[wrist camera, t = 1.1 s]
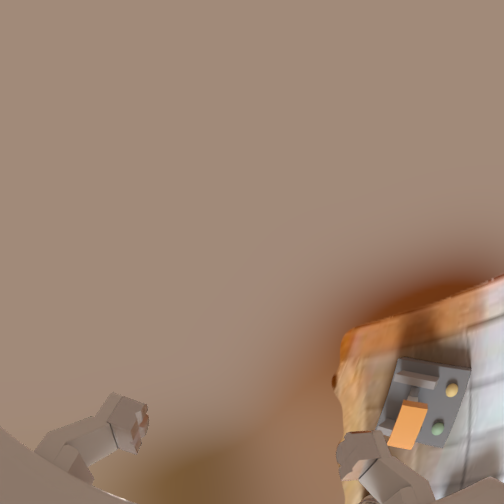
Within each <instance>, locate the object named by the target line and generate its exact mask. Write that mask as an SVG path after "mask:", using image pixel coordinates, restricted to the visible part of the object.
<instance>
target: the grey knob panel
mask: <svg viewBox="0 0 504 504" xmlns="http://www.w3.org/2000/svg"><path fill="white" fill-rule="evenodd" d="M470 373H471V368H467V367H460V366H453V365H447V364H441V363H435V362H429V361H423V360H418V359H412V358H407V357H401V358H398V361H397V365H396V369H395V372H394V376H393V379H392V383H391V386H390V389H389V392H388V395H387V398H386V401H385V404H384V407H383V410H382V413H381V416H380V418H379V421H378V424H377V426H376V429H375V430H381V431H382V433H383V435H386V436H390V435H391V432H392V430H393V427H394V425H395V422H396V419H397V417H398V414H399V411H400V409H401V406H402V403H403V400H407V399H408V396H409V394H410V391H411V388H412V386H417V387H420V391H419V394H418V402H421V403H427V404H428V411H427V413H426V416H425V419H424V421H423V424H422V426H421V429H420V431H419V433H418V436H417V438H416V440H415V442H418V443H422V444H426V445H430V446H435V447H439V448H443V446H444V444H445V442H446V440H447V438H448V435H449V433H450V431H451V428H452V426H453V424H454V421H455V419H456V416H457V413H458V411H459V408H460V405H461V402H462V399H463V396H464V393H465V390H466V387H467V384H468V380H469V377H470Z"/></svg>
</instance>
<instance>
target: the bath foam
mask: <svg viewBox="0 0 504 504" xmlns="http://www.w3.org/2000/svg"><path fill="white" fill-rule="evenodd" d="M359 504H380V503H379V502H378V501H377V500H376V499H375V498H374V497H373V496H372V495H371V494H370V495H368V496H366V497H365V498H364V499H363V500H362V501H361V502H360V503H359Z"/></svg>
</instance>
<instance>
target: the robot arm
mask: <svg viewBox="0 0 504 504" xmlns="http://www.w3.org/2000/svg"><path fill="white" fill-rule="evenodd" d="M147 411H148V408H147V404H144V403H141V402H138V401H135V400H132V399H130V398H127V397H125V396H122V395H119V394H116V393H114V392H113V393H111V394H110V395H109V396H108V398H107V399H106V401H105V403H104V404H103V405H102V407H101V408H100V410H99V411H98V413H97V415H96V416H95V417H93V416H90V417H88V418H85V419H83V420H80V421H78V422H75V423H73V424H70V425H67V426H64V427H61V428H58V429H56V430H53V431H50V432H48V433H47V434H46V436H45V437H44V439H43V440H42V441H41V443H40V444H39V445H38V447H37V448H36V449H35V451H34V452H33V451H32V450H31V449H29V448H28V447H26V446H25V445H24V444H22V443H21V442H20V441H18V440H17V439H16V438H14V437H13V436H12V435H10V434H9V433H8V432H7V431H5V430H4V429H3V428H2V427H1V426H0V504H136V503H134V502H131V501H128V500H125V499H123V498H120V497H118V496H115V495H112V494H110V493H108V492H106V491H103V490H101V489H99V488H97V487H95V486H92V483H93V480H94V477H93V475H92V474H91V472H90V471H89V469H88V466H90V465H92V464H93V463H95V462H97V461H99V460H101V459H102V458H104V457H105V456H107V455H109V454H111V453H112V452H114V451H116V450H117V449H118V448H119V449H121V450H124V451H127V452H130V453H133V454H137V453H138V451H139V449H140V446H141V444H142V442H141V438H142V437H144V436H145V435H146V433H147V430H148V426H149V417H148V415H147V414H146V413H147ZM344 438H345V440H344V441H343V442H341V443H340V444H339V446H338V447H337V451H336V459H337V462H338V463H339V464H340V465H341V466H340V468H339V474H340V479H341V481H349V480H358V481H359V482H360V483H361V484H362V485H363V486H364V487H365V488H366V489H367V490H368V492H369V493H370V494H371V495H372V496H373V497H374V498H375V499H376V500H377V501H378V502H379V503H380V504H504V483H503V482H501V481H499V480H497V479H495V478H493V477H487V478H484V479H482V480H480V481H478V482H476V483H475V484H473V485H471V486H468V487H466V488H464V489H462V490H460V491H458V492H456V493H453V494H451V495H449V496H446V497H444V498H441V499H439V500H435V497H434V495H433V492H432V490H431V487H430V485H429V482H428V480H426V479H425V478H423V477H422V476H421V475H419V474H418V473H416V472H415V471H414V470H412V469H411V468H409V467H408V466H407V465H405V464H404V463H403V462H401V461H400V460H399V459H397V458H396V457H395V456H393V457H392V456H391V454H390V451H389V448H388V446H387V443H386V441H385V438H384V435H383V433H382V431H381V430H374V431H356V432H348V433H346V435H345V436H344Z"/></svg>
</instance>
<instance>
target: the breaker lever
mask: <svg viewBox="0 0 504 504" xmlns="http://www.w3.org/2000/svg"><path fill="white" fill-rule="evenodd" d="M419 391H420V387H417V386H412V388H411V391H410V394H409V396H408V399H407V400H403V403H402V406H401V409H400V411H399V414H398V417H397V419H396V422H395V425H394V427H393V430H392V432H391V435H390V437H389V440H388V443H387V445H388V446H393V447H398V448H403V449H409V450H411V449H412V447H413V445H414V443H415V440H416V438H417V436H418V433H419V431H420V429H421V426H422V424H423V421H424V419H425V416H426V413H427V411H428V404H427V403H421V402H418V394H419Z"/></svg>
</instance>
